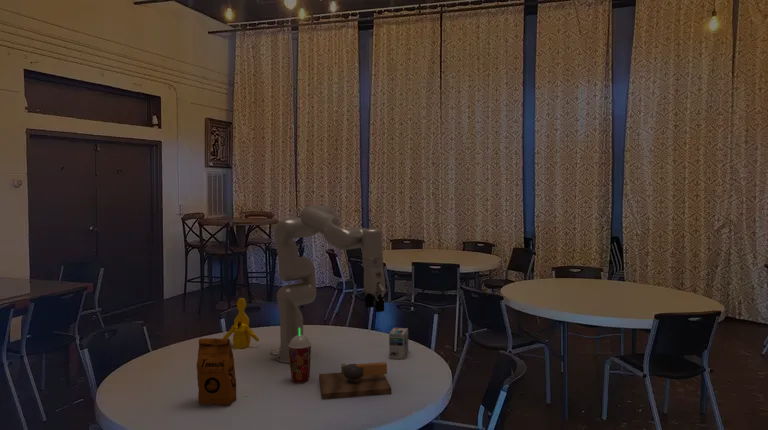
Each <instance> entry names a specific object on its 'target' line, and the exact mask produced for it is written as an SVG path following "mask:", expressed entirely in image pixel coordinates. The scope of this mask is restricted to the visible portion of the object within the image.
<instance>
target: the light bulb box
mask: <svg viewBox="0 0 768 430" xmlns="http://www.w3.org/2000/svg"><path fill="white" fill-rule="evenodd" d="M388 333H389V334H388V339H389V340H388V341H389V343H388V344H389V346H388V347H389V359H391V360H405V359H406V358H407V356H408V354H409V328H407V327H406V328H405V327H404V328H403V327H393V328H392V330H390V332H388Z"/></svg>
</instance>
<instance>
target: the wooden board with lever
mask: <svg viewBox="0 0 768 430" xmlns="http://www.w3.org/2000/svg"><path fill="white" fill-rule="evenodd" d="M346 365H347V364H346V363H340V370H341V371H340V372H328V373H319V375H318V376H319V377H318V378H319V386H320V392H321V393H320V394H321V399H322V400H330V399H331V400H332V399H344V398H345V399H347V398H357V397H360V398H361V397H368V396H369V397H370V396H371V397H372V396H382V395H391V394H392V387H391V385H390V383H389V381H388V379H387V377H386V374H380V375H366V376H362V377H360V378H355V379H351V378H346V377H344V366H346Z"/></svg>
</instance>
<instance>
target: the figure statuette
mask: <svg viewBox="0 0 768 430" xmlns="http://www.w3.org/2000/svg"><path fill="white" fill-rule="evenodd" d="M236 308H237V310H238V314H237V315H236V316H235V318H234V320H233V323H234V324H232V325H231V327H230V328H229V330H228V331H227V332H226V333H225V335H224V336H223V337H222V338H221V339H229V338H230V336H231V335H232V342H233V349H235V350H239V349H244V348H248V347H249V345H250V344H251V341H252V339H253V340H255V341H256V342H259V341H260V338H259V337H258V336H257V334H256V333H255V332H254V331H253V329H252V328H251V327H250V326H249V325H250V318H249V316H248V315H247V314H246V312H245V309H246V308H247V301H246V299H245V297H239V298H238V299H237V303H236Z"/></svg>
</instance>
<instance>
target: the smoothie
mask: <svg viewBox="0 0 768 430" xmlns="http://www.w3.org/2000/svg"><path fill="white" fill-rule="evenodd" d="M288 346H289V356H290V363H289V366H290V367H289V368H290V378H291V379H292V382H294V383H295V384H303V383H306V382H308V381H309V378H310V377H311V374H310V373H311V355H312V354H311V351H312V343H311V342H310V339H309V338H308V337H307V336H306V335H305V334H303V335H300V328H299V335H297V336H295V337H293V338H292V340H291V341H290V344H289V345H288Z"/></svg>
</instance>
